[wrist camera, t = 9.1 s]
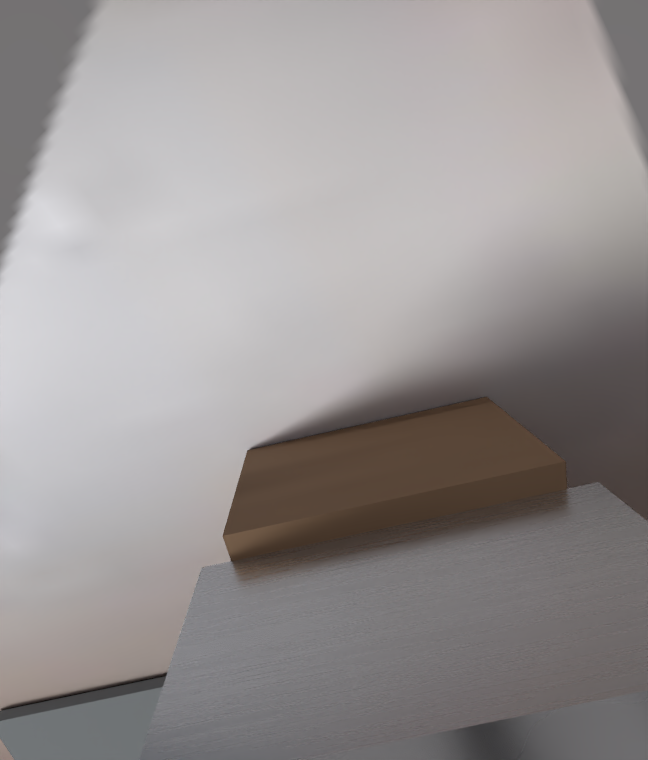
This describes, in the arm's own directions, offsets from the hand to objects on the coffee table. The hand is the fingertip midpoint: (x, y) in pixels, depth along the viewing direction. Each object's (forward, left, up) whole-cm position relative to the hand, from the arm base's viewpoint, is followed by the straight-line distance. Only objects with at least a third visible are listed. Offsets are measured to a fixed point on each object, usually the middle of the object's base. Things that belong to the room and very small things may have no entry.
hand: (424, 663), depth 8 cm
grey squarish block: (0, 0, 0) cm, 0 cm away
